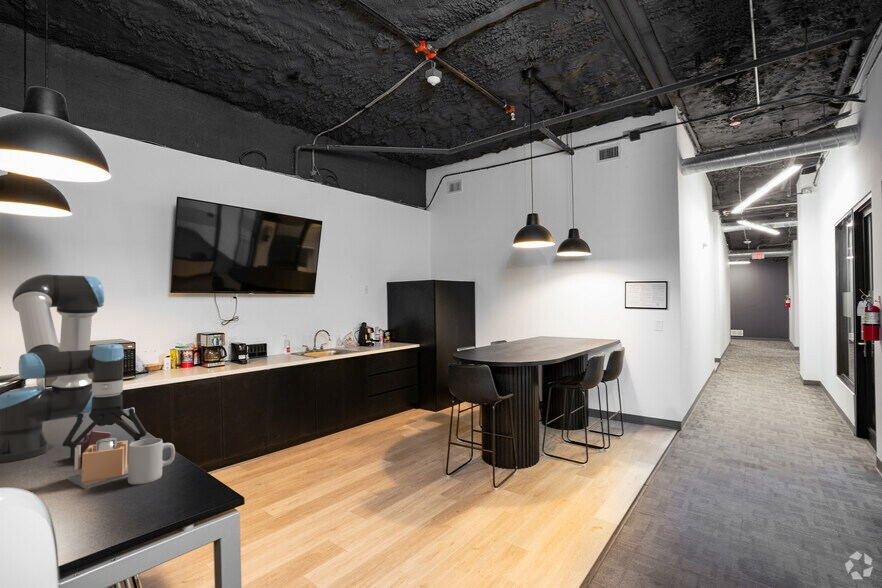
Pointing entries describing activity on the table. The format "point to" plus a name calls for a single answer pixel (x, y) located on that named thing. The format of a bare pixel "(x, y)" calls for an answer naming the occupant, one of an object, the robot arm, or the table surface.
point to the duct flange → (77, 479)
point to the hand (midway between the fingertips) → (105, 464)
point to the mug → (147, 460)
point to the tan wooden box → (104, 462)
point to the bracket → (92, 440)
